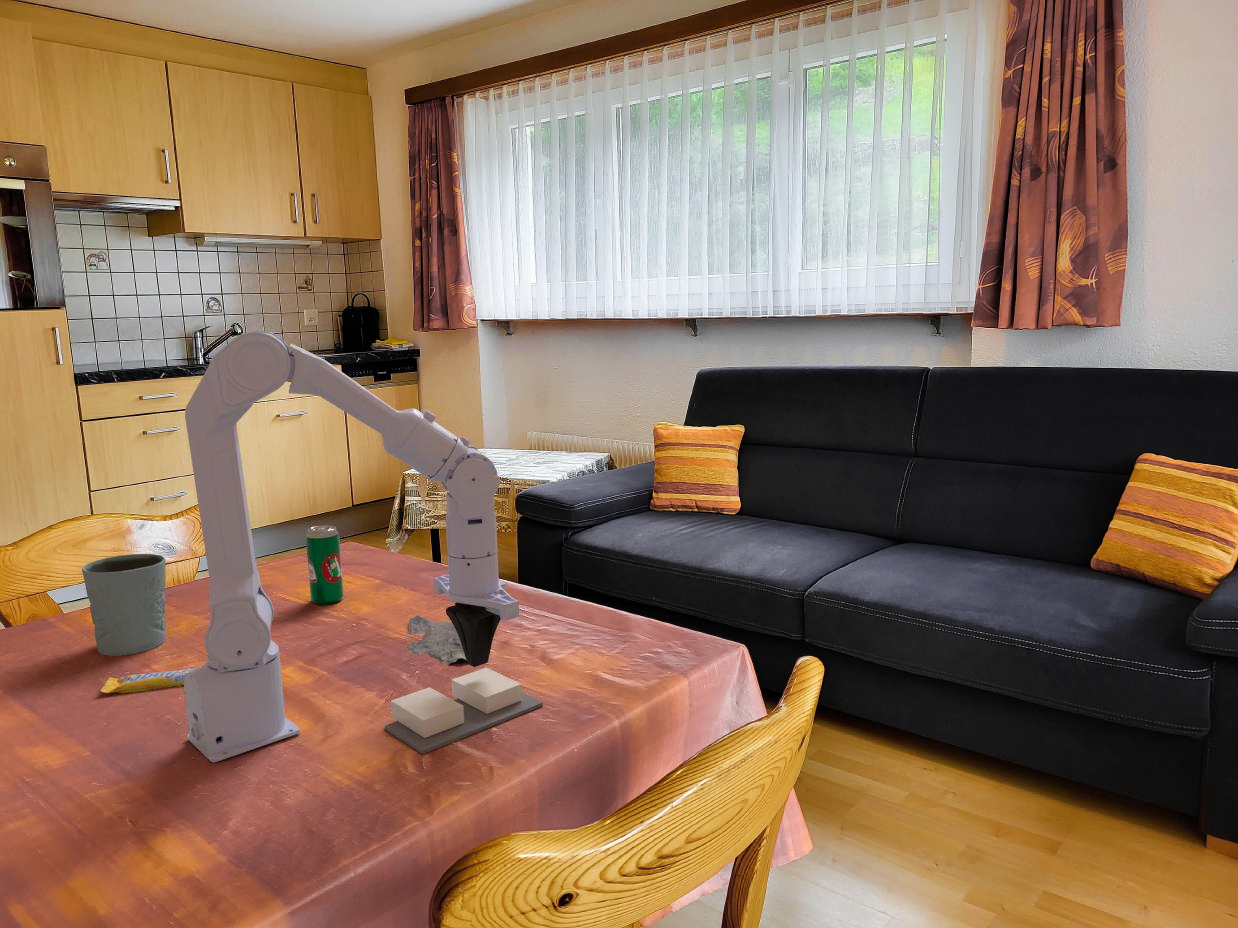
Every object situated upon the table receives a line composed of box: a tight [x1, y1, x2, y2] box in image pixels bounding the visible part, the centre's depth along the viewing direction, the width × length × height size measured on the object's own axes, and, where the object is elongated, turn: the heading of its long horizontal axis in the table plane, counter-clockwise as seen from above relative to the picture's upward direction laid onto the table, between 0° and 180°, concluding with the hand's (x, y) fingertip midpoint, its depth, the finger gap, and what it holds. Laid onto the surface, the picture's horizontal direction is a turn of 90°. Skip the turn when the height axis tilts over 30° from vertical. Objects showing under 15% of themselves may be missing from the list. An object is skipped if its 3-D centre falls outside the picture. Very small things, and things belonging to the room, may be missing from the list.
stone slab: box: [405, 615, 467, 667], centre depth 124 cm, size 18×2×10 cm
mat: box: [383, 692, 544, 755], centre depth 100 cm, size 16×8×1 cm, turn 134°
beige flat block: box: [390, 687, 464, 738], centre depth 99 cm, size 5×2×7 cm
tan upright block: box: [451, 667, 523, 714], centre depth 104 cm, size 5×2×7 cm
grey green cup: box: [81, 553, 167, 657], centre depth 124 cm, size 10×10×12 cm
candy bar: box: [99, 667, 199, 694], centre depth 112 cm, size 17×4×2 cm, turn 107°
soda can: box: [305, 524, 344, 606], centre depth 142 cm, size 5×5×12 cm
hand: (477, 663), depth 105 cm, fingers closed
